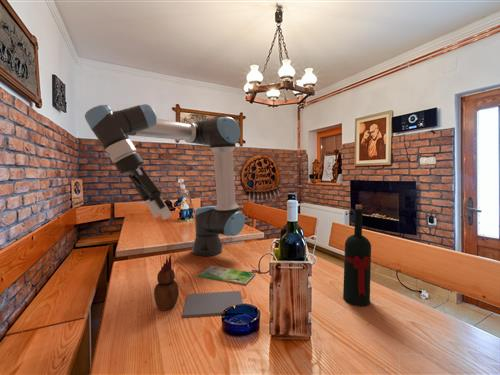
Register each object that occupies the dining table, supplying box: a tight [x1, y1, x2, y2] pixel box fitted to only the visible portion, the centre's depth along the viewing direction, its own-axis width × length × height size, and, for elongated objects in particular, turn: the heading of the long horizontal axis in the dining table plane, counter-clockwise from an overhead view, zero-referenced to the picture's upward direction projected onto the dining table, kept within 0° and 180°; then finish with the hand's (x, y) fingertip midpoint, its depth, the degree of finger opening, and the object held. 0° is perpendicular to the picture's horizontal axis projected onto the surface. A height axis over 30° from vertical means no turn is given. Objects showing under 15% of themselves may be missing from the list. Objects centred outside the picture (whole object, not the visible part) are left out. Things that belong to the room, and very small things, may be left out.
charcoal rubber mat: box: [182, 290, 244, 318], centre depth 74 cm, size 17×12×1 cm
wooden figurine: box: [153, 254, 180, 311], centre depth 72 cm, size 7×6×15 cm
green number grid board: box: [198, 265, 257, 286], centre depth 94 cm, size 20×1×10 cm
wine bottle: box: [342, 204, 372, 307], centre depth 74 cm, size 8×10×30 cm
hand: (163, 216), depth 78 cm, fingers open, 13 cm apart
